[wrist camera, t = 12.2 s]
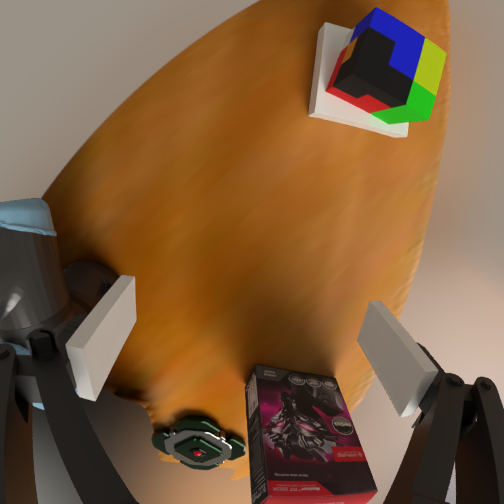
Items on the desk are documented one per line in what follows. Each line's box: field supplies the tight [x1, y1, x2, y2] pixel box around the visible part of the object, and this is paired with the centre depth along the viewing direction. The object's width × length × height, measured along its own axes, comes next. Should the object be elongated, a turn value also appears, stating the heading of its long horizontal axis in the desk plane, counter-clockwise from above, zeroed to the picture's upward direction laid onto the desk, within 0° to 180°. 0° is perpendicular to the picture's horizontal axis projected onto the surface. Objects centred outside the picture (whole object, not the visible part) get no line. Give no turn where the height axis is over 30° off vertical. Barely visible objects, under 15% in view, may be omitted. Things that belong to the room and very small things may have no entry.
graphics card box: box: [245, 365, 378, 504], centre depth 41 cm, size 17×7×27 cm, turn 72°
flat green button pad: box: [152, 416, 246, 470], centre depth 57 cm, size 18×18×5 cm
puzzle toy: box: [325, 7, 446, 125], centre depth 29 cm, size 10×10×10 cm
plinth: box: [308, 22, 409, 137], centre depth 36 cm, size 14×14×4 cm
